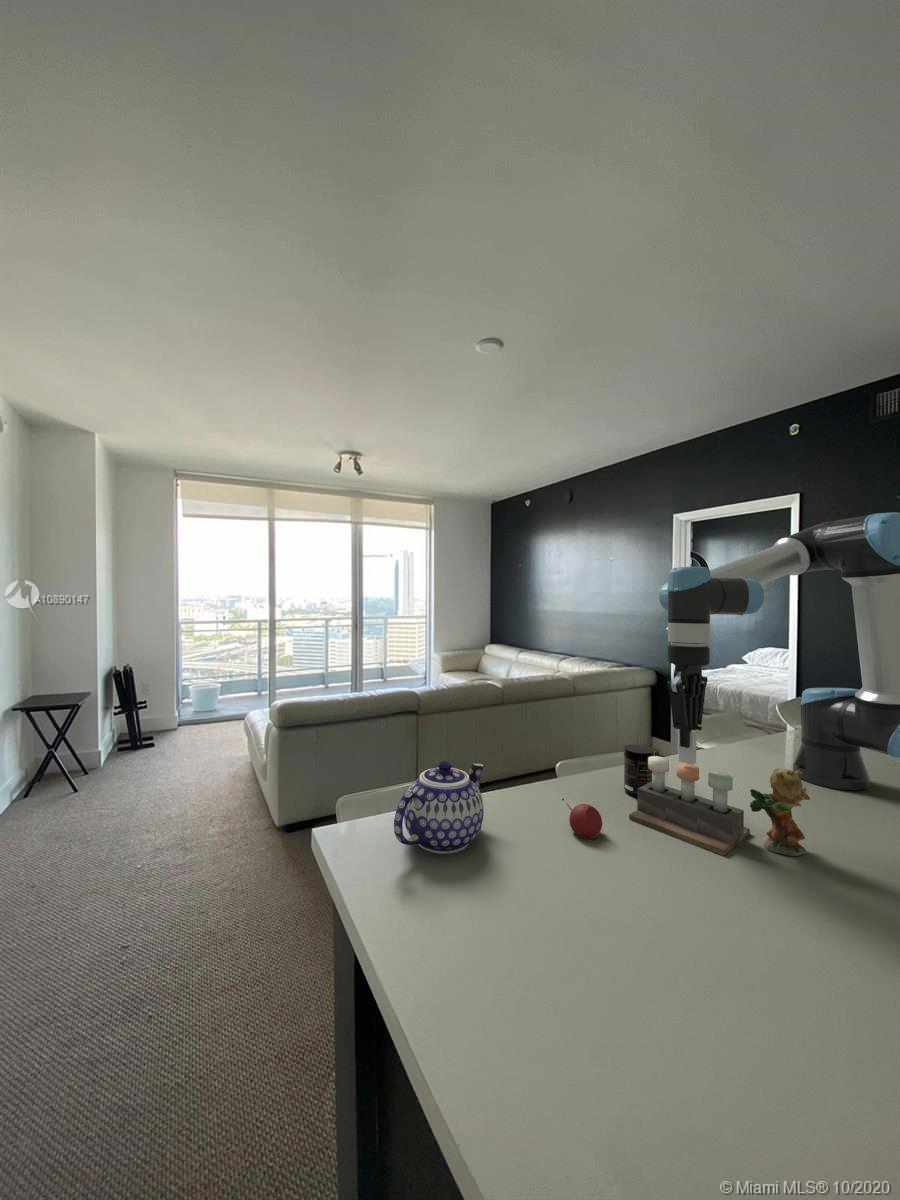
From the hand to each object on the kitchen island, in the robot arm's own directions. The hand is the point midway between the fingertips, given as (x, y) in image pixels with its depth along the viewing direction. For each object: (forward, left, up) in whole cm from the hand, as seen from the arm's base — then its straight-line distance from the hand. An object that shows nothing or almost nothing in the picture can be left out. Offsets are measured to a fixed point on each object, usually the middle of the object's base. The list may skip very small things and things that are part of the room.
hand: (687, 762), depth 94 cm
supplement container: (-8, -14, -13) cm, 21 cm away
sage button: (0, +6, -8) cm, 10 cm away
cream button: (0, -6, -8) cm, 10 cm away
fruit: (+18, -12, -13) cm, 26 cm away
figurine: (-4, +14, -13) cm, 20 cm away
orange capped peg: (0, 0, -8) cm, 8 cm away
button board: (0, 0, -13) cm, 13 cm away
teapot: (+41, -26, -13) cm, 51 cm away
